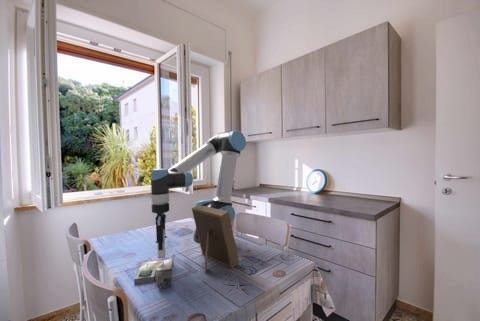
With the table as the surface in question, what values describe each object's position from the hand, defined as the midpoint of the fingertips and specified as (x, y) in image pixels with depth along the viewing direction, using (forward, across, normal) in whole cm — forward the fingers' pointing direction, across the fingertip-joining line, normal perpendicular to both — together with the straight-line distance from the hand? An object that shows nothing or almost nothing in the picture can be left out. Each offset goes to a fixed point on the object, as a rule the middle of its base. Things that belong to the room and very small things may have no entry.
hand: (161, 254), depth 101 cm
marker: (+1, 0, 0) cm, 1 cm away
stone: (+5, +16, +2) cm, 17 cm away
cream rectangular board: (+5, +2, -2) cm, 5 cm away
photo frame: (+5, +4, +22) cm, 23 cm away
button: (+5, +11, -5) cm, 12 cm away
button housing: (+5, +11, -5) cm, 12 cm away
